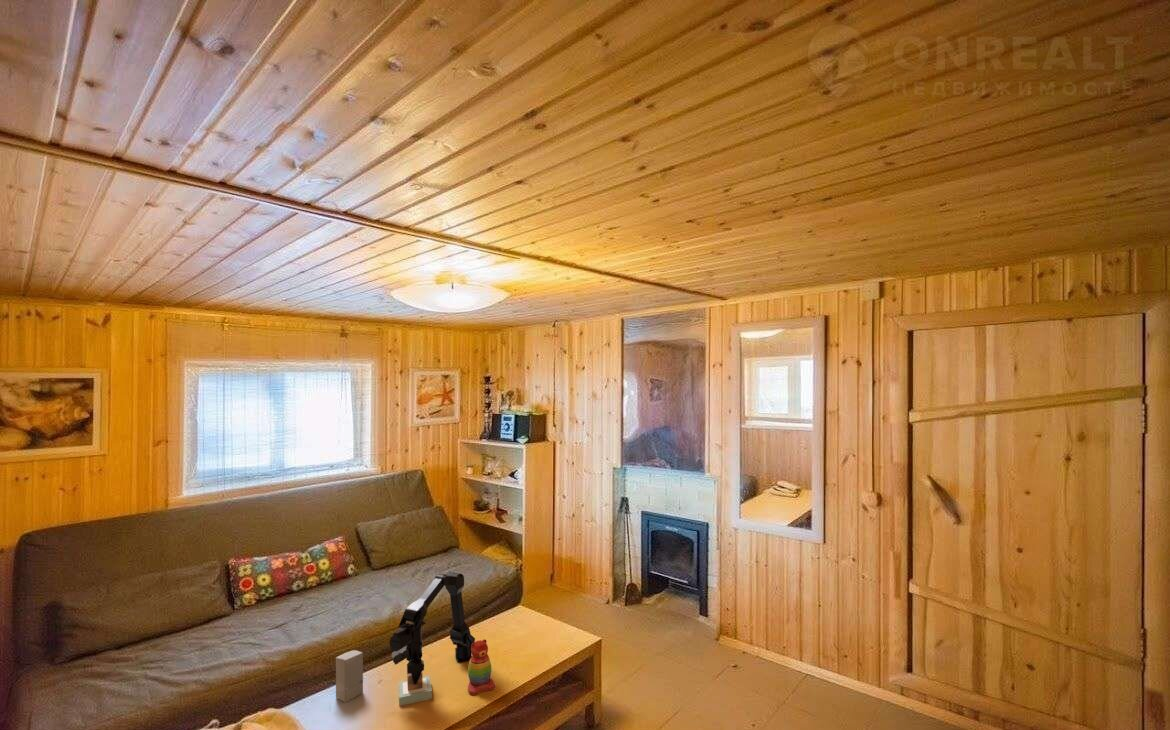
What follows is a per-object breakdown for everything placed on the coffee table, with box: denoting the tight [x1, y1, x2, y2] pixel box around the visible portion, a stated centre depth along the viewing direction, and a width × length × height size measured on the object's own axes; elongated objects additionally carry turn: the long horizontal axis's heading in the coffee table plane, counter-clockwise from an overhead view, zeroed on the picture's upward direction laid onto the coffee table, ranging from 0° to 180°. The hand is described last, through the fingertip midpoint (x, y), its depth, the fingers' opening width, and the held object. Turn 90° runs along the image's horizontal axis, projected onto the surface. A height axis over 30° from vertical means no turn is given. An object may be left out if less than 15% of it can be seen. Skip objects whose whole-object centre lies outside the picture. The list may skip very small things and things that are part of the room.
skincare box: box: [335, 649, 364, 703], centre depth 210 cm, size 8×7×16 cm
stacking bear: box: [467, 639, 496, 696], centre depth 213 cm, size 11×10×18 cm
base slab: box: [398, 675, 433, 707], centre depth 209 cm, size 12×12×3 cm
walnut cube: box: [406, 671, 423, 691], centre depth 209 cm, size 6×6×6 cm
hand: (414, 679), depth 209 cm, fingers open, 6 cm apart
